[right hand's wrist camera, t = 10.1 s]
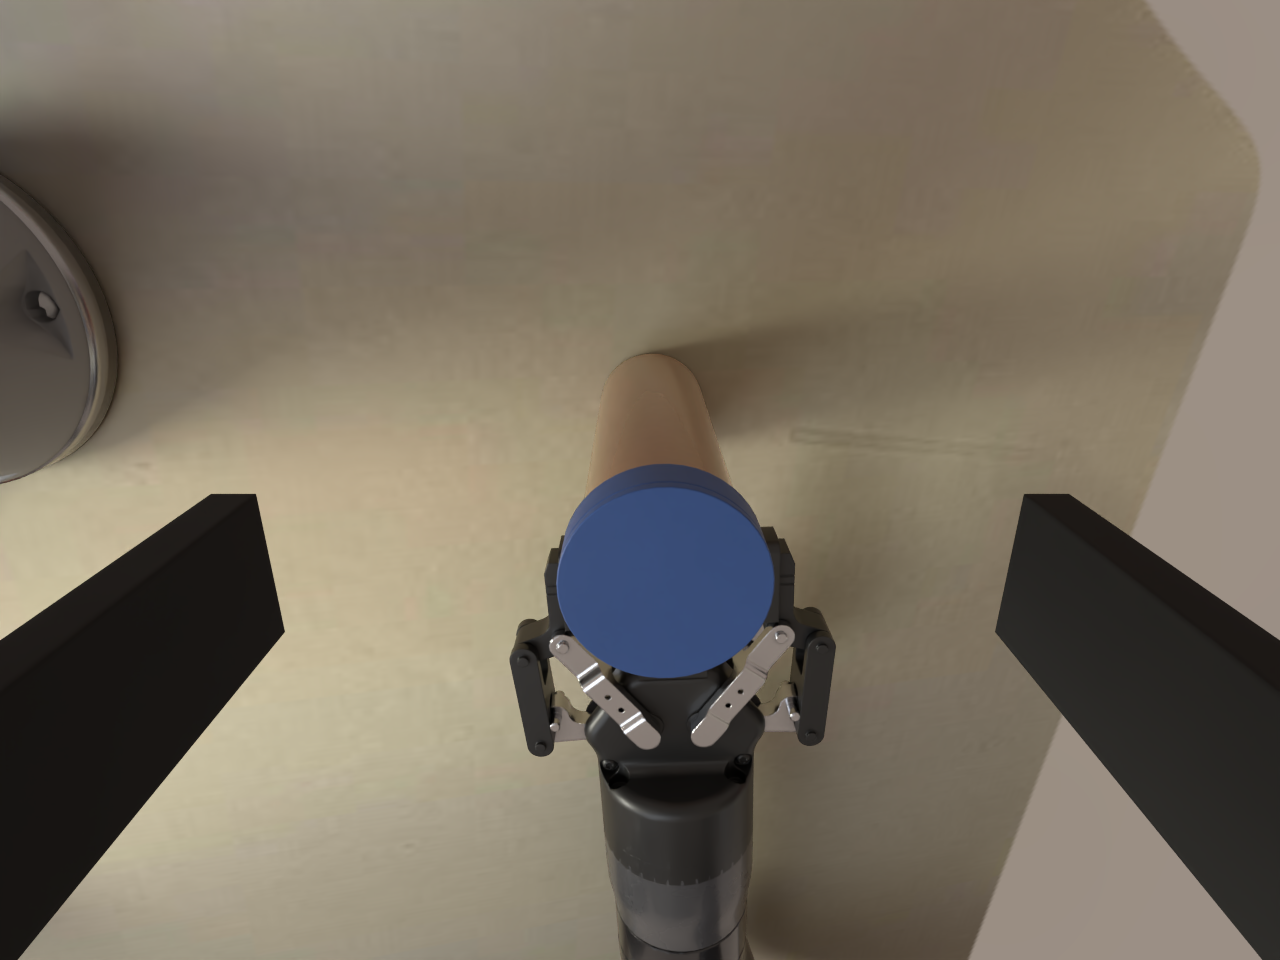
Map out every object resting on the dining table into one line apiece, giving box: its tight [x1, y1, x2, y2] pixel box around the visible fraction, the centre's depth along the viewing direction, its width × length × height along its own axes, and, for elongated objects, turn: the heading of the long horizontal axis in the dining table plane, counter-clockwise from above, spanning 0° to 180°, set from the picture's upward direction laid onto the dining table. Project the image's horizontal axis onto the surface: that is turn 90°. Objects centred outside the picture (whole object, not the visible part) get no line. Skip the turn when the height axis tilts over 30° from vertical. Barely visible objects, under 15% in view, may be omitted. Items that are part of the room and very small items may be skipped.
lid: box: [556, 464, 775, 678], centre depth 20 cm, size 6×6×2 cm
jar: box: [584, 354, 733, 498], centre depth 27 cm, size 5×5×17 cm
